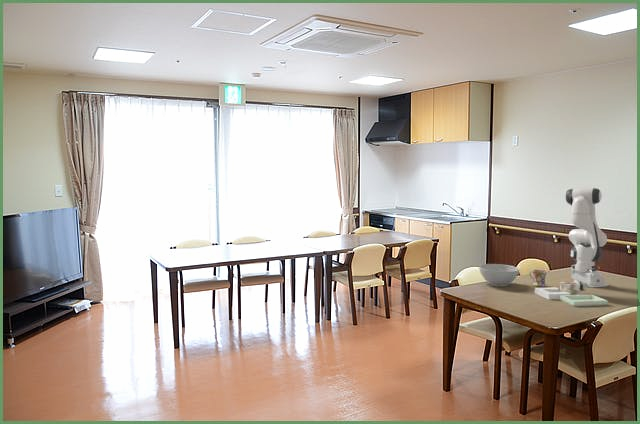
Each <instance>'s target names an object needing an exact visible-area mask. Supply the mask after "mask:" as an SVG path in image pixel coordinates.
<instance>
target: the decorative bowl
mask: <svg viewBox="0 0 640 424" xmlns="http://www.w3.org/2000/svg"><path fill="white" fill-rule="evenodd" d="M478 270H479V273H480V274H481V276H482V278H483V279H484V280H485V281H486V282H487V283H488V284H489V285H490V286H492V285H493V287H499V286H500V288H501V287H502V288H503V287H508V285H509V284H510V283H512V282H514V281H515V279H516V278H517V276H518V275H519V273H520V268H519V267H517V266H514V265H509V264H501V263H500V264H499V263H485V264H484V263H483V264H479V267H478Z"/></svg>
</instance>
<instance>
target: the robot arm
mask: <svg viewBox="0 0 640 424" xmlns="http://www.w3.org/2000/svg"><path fill="white" fill-rule="evenodd" d="M564 197H565V201H566V203H567V204H568V205H570V206H571V209H570V210H571V211H570V213H571V214H570V221H571V223H572V224H573V225H574V226H575V227H577V228H575V229H571V230H570V231H569V233H568V239H569V241H570V242H571V244H573V246H572V247H571V249H570V250H569V251H570V254H569V256H570V258H571V259H572V260H573V261H576V264H572V265H571V273H570V274H571V275H570V277H571V279H572V280H573V282H576V283H578V284H583V287H582V289H583V290H585V291H586V290H587V287H588V288H600V287H601V288H602V287H609V284H608V283H606V280H605V276H604V275H603V274H602V273H600V272H599V271H598V270H600V269H601V267H600V266H598V265H596V263H597V262H598V261H600V260H601V259H602V250H601V247H604V246H605V245H606V244H607V242H608V237H607V234H606V233H605V232H603V230H601V229H600V227H599V225H598V223H597V217H596V205H597V204H599V203H600V202H601V200H602V197H603V196H602V191H601V190H600V189H599V188H595V187H593V188H591V187H581V188H570V189H567V190H566V192H565V196H564Z"/></svg>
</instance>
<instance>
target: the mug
mask: <svg viewBox="0 0 640 424" xmlns="http://www.w3.org/2000/svg"><path fill="white" fill-rule="evenodd" d="M531 273H532V274H533V276H534V278H533V276H532V275H531ZM547 274H548V271H547V270H544V269H533V270H532V271H529V277H530V278H531V279H532V280H533V282H532V286H534V287H536V288H546V286H547V284H546V276H547Z"/></svg>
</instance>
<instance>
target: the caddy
mask: <svg viewBox="0 0 640 424" xmlns="http://www.w3.org/2000/svg"><path fill="white" fill-rule="evenodd" d="M559 284H560V285H559V292H568V293H571V295H581V294H580V293H581V292H583V291H584V292H585V291H586V290H583V289H582V287H583V284H578V283H576V282H574V281H562V282H561V281H560V282H559Z"/></svg>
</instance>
